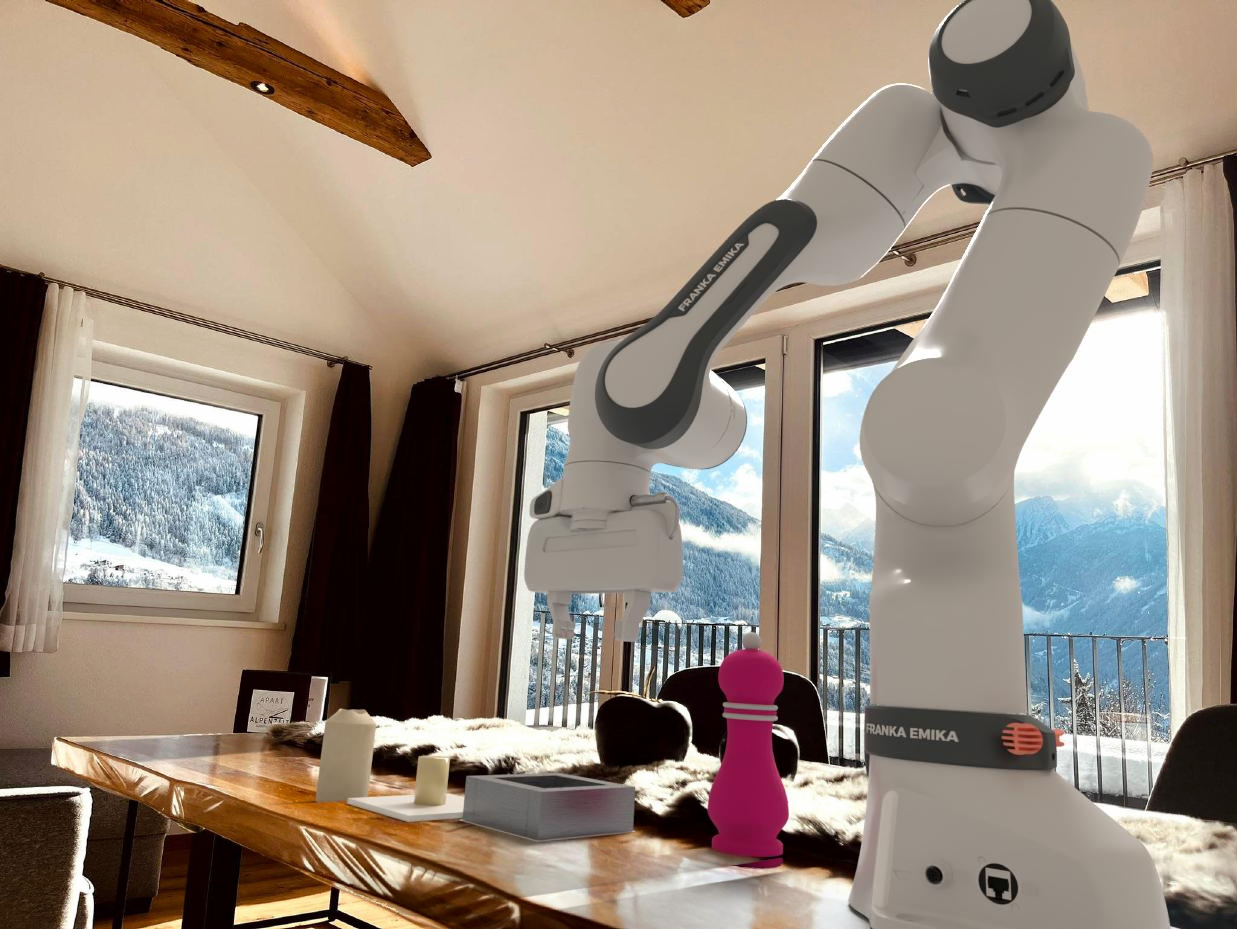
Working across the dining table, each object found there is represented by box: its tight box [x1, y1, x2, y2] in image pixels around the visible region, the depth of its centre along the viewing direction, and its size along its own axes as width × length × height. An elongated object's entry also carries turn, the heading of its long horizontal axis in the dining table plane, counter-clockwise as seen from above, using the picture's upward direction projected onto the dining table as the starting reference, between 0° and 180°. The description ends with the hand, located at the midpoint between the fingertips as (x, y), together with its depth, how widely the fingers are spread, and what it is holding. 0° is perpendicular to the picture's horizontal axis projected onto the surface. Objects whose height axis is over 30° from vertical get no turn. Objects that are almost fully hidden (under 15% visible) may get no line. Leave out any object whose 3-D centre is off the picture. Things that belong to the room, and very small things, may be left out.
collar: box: [461, 772, 636, 841], centre depth 86 cm, size 12×12×4 cm
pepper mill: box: [706, 631, 790, 870], centre depth 81 cm, size 7×7×20 cm
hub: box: [346, 755, 465, 823], centre depth 92 cm, size 12×12×6 cm
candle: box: [315, 708, 377, 803], centre depth 99 cm, size 6×6×10 cm
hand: (593, 640), depth 86 cm, fingers open, 8 cm apart
